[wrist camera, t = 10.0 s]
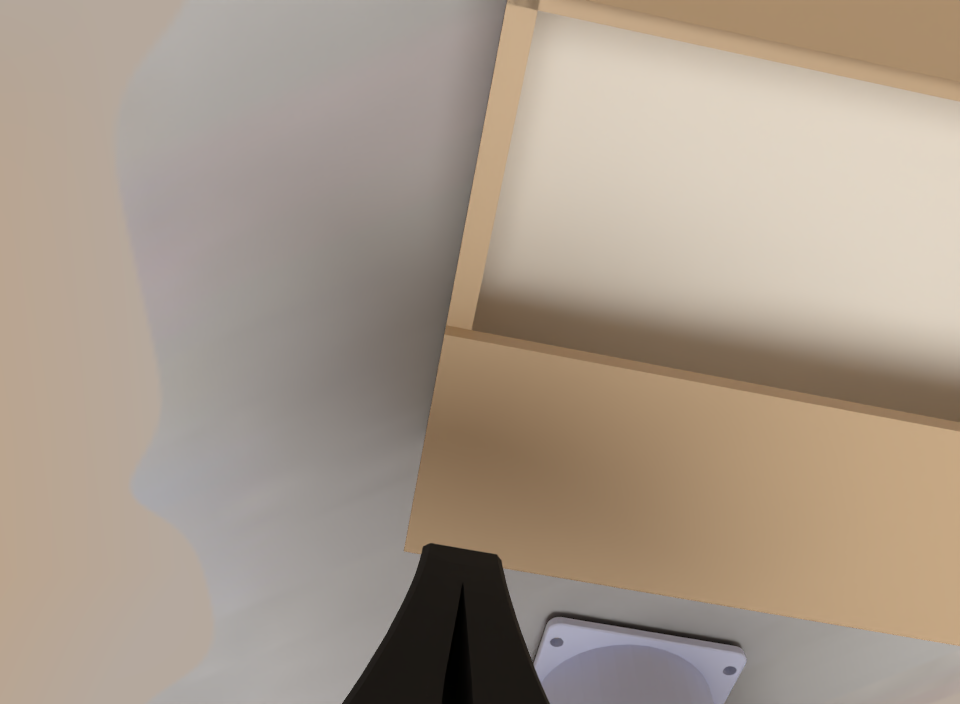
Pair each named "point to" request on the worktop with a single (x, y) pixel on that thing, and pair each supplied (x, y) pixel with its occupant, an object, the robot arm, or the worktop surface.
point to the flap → (834, 27)
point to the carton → (707, 325)
